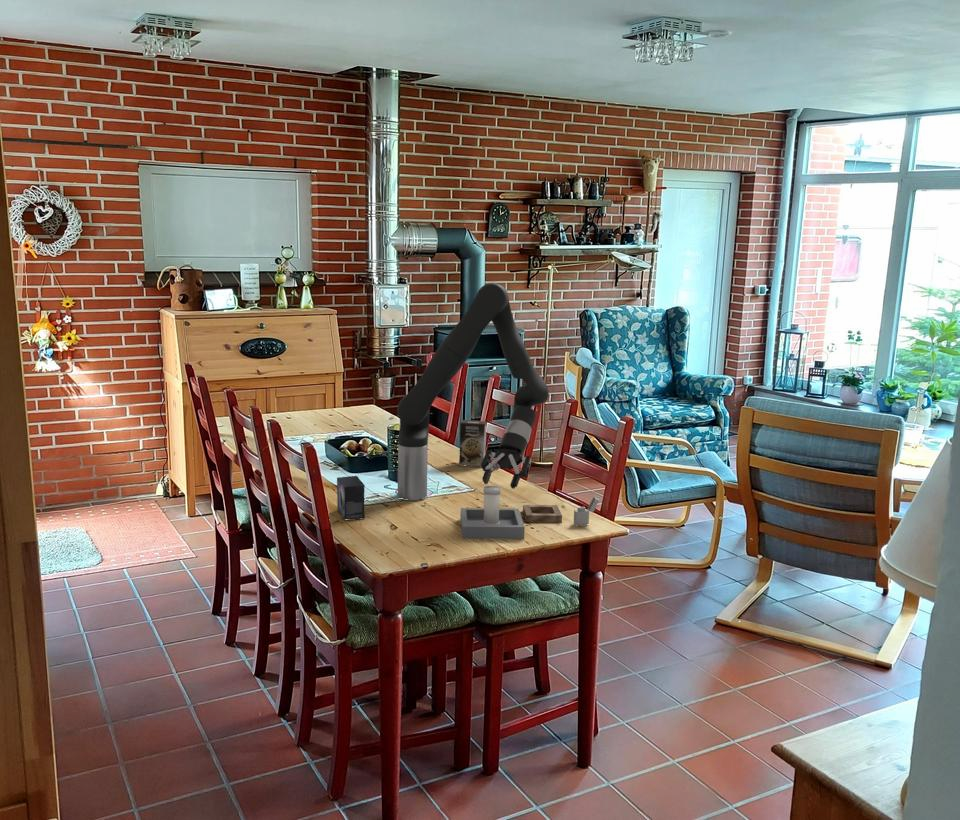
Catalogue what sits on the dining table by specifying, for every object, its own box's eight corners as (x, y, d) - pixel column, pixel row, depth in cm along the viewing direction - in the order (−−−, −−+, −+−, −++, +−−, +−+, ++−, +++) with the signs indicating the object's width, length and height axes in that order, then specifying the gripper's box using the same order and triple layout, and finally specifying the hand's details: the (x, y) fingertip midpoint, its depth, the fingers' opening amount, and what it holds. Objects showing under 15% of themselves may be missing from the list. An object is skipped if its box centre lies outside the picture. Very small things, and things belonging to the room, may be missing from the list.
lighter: (575, 525, 257) (576, 499, 256) (573, 524, 259) (574, 497, 257) (598, 524, 259) (599, 498, 258) (595, 522, 261) (597, 496, 259)
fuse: (483, 528, 250) (484, 490, 248) (482, 522, 254) (483, 485, 252) (500, 528, 250) (501, 490, 248) (498, 522, 255) (499, 486, 253)
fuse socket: (526, 521, 260) (526, 515, 259) (522, 511, 270) (523, 504, 269) (561, 522, 260) (562, 515, 260) (556, 511, 270) (557, 505, 270)
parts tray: (462, 538, 244) (462, 526, 243) (460, 519, 260) (460, 508, 260) (524, 539, 245) (524, 527, 244) (518, 519, 261) (518, 508, 261)
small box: (335, 510, 266) (335, 476, 264) (357, 508, 268) (357, 475, 266) (343, 521, 256) (343, 486, 254) (365, 519, 259) (365, 484, 257)
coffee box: (458, 466, 321) (459, 422, 318) (461, 462, 327) (462, 419, 324) (483, 467, 320) (484, 423, 317) (485, 463, 326) (486, 420, 323)
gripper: (490, 428, 262) (472, 474, 254) (535, 434, 257) (518, 481, 249) (497, 442, 268) (479, 488, 260) (541, 448, 262) (524, 495, 254)
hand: (498, 485), depth 254 cm, fingers open, 8 cm apart
